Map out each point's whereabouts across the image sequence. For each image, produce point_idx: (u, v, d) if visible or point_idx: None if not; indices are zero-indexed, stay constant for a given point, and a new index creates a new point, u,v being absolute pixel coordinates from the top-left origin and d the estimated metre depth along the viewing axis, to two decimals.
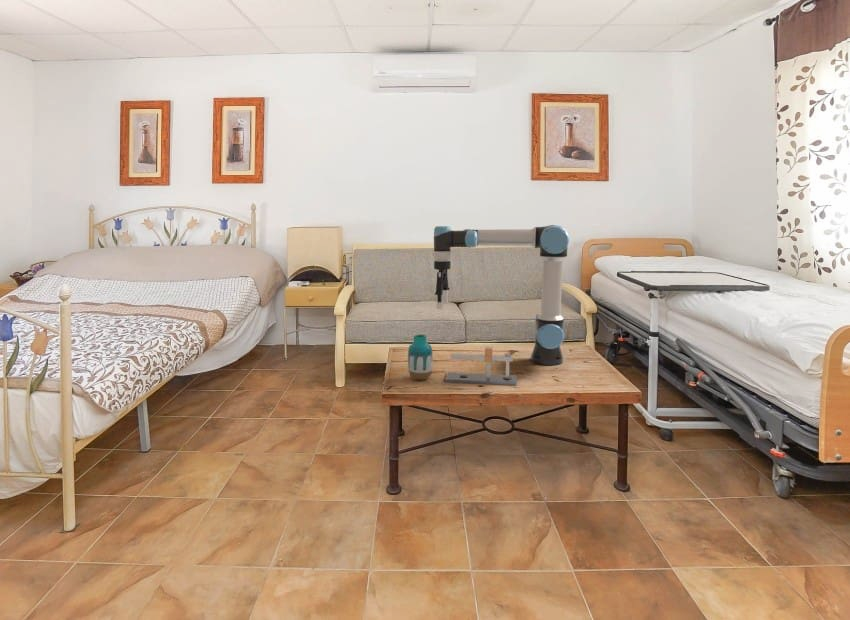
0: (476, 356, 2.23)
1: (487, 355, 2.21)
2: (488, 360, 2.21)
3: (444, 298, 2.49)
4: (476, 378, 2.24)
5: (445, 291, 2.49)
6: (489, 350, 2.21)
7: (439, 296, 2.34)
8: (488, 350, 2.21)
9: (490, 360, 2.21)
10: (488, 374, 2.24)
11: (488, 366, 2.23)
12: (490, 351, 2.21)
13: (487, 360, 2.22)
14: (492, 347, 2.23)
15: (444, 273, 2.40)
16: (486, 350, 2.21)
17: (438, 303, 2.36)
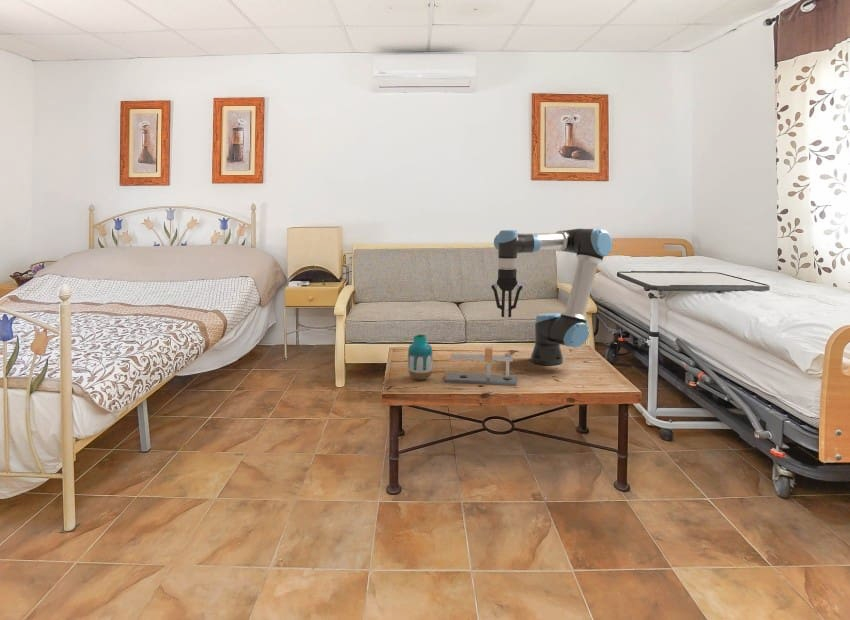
0: (476, 356, 2.23)
1: (487, 355, 2.21)
2: (488, 360, 2.21)
3: None
4: (476, 378, 2.24)
5: None
6: (489, 350, 2.21)
7: (501, 310, 2.18)
8: (488, 350, 2.21)
9: (490, 360, 2.21)
10: (488, 374, 2.24)
11: (488, 366, 2.23)
12: (490, 351, 2.21)
13: (487, 360, 2.22)
14: (492, 347, 2.23)
15: (503, 282, 2.15)
16: (486, 350, 2.21)
17: None
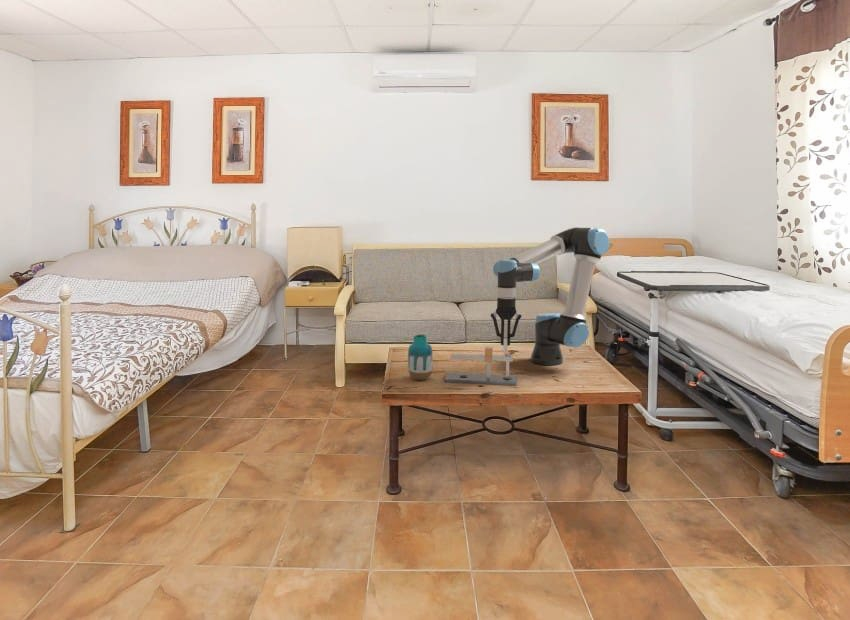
0: (476, 356, 2.23)
1: (487, 355, 2.21)
2: (488, 360, 2.21)
3: None
4: (476, 378, 2.24)
5: None
6: (489, 350, 2.21)
7: None
8: (488, 350, 2.21)
9: (490, 360, 2.21)
10: (488, 374, 2.24)
11: (488, 366, 2.23)
12: (490, 351, 2.21)
13: (487, 360, 2.22)
14: (492, 347, 2.23)
15: (502, 311, 2.17)
16: (486, 350, 2.21)
17: None
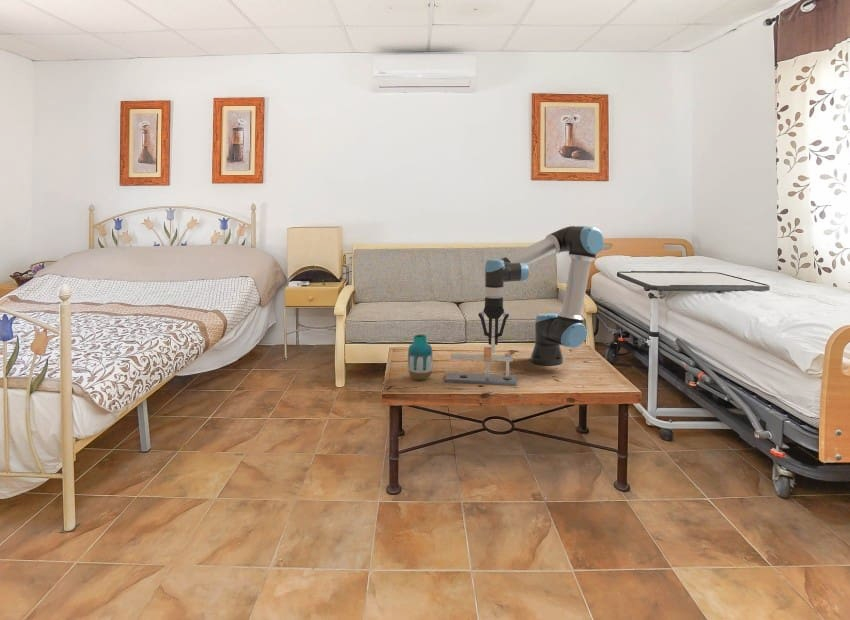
0: (476, 356, 2.23)
1: (486, 355, 2.21)
2: (487, 360, 2.22)
3: None
4: (476, 378, 2.24)
5: None
6: (488, 350, 2.21)
7: None
8: (487, 350, 2.21)
9: (489, 360, 2.21)
10: (487, 374, 2.24)
11: (487, 366, 2.23)
12: (489, 351, 2.21)
13: (486, 360, 2.22)
14: None
15: (489, 311, 2.18)
16: (485, 350, 2.21)
17: (491, 345, 2.22)
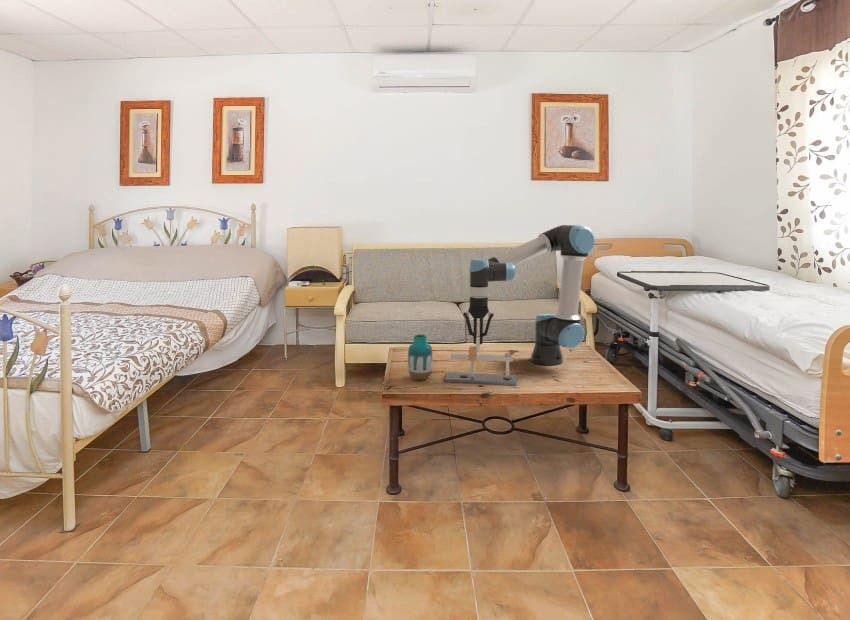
0: (476, 356, 2.23)
1: (471, 354, 2.22)
2: (472, 359, 2.23)
3: None
4: (476, 378, 2.24)
5: None
6: (473, 349, 2.22)
7: None
8: (472, 349, 2.22)
9: (474, 359, 2.22)
10: (472, 373, 2.25)
11: (472, 365, 2.24)
12: (474, 350, 2.22)
13: (471, 359, 2.23)
14: None
15: (474, 310, 2.19)
16: (470, 349, 2.22)
17: None
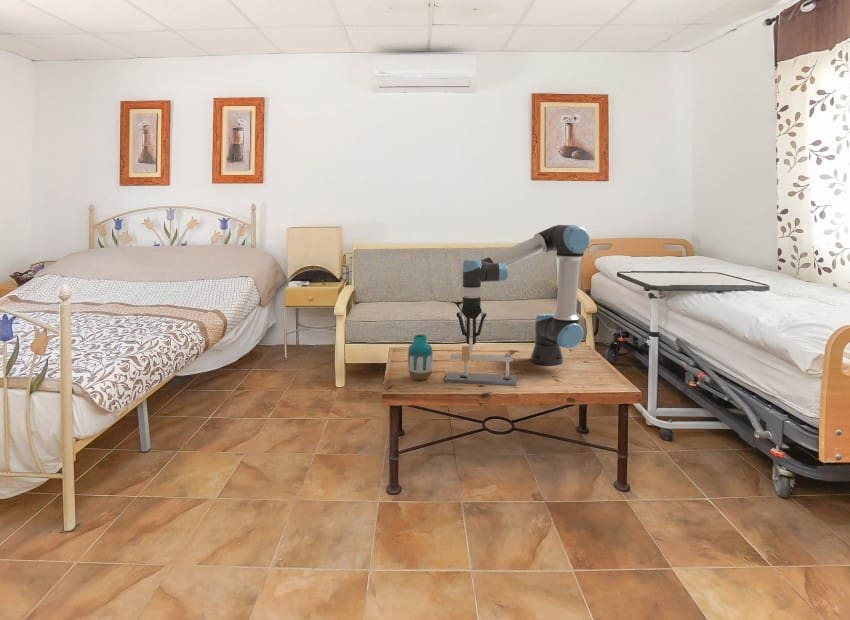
0: (476, 356, 2.23)
1: (464, 354, 2.23)
2: (465, 359, 2.23)
3: None
4: (476, 378, 2.24)
5: None
6: (466, 349, 2.22)
7: None
8: (465, 349, 2.22)
9: (467, 359, 2.23)
10: (465, 373, 2.25)
11: (465, 365, 2.25)
12: (467, 350, 2.22)
13: (464, 359, 2.23)
14: None
15: (467, 310, 2.20)
16: (463, 349, 2.23)
17: None
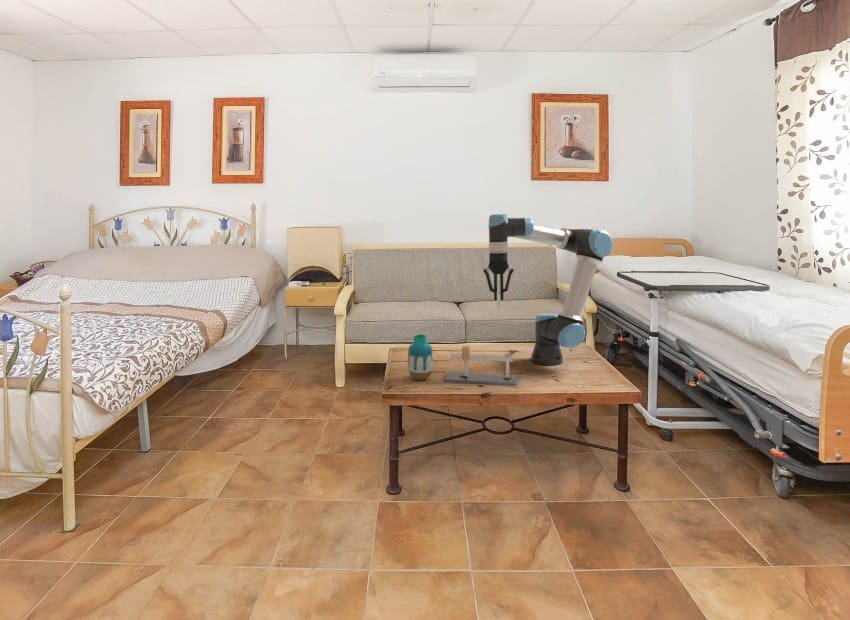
0: (476, 356, 2.23)
1: (464, 354, 2.23)
2: (465, 359, 2.23)
3: None
4: (476, 378, 2.24)
5: None
6: (466, 349, 2.22)
7: (494, 294, 2.22)
8: (465, 349, 2.22)
9: (467, 359, 2.23)
10: (465, 373, 2.25)
11: (465, 365, 2.25)
12: (467, 350, 2.22)
13: (464, 359, 2.23)
14: (469, 346, 2.25)
15: (494, 266, 2.19)
16: (463, 349, 2.23)
17: None
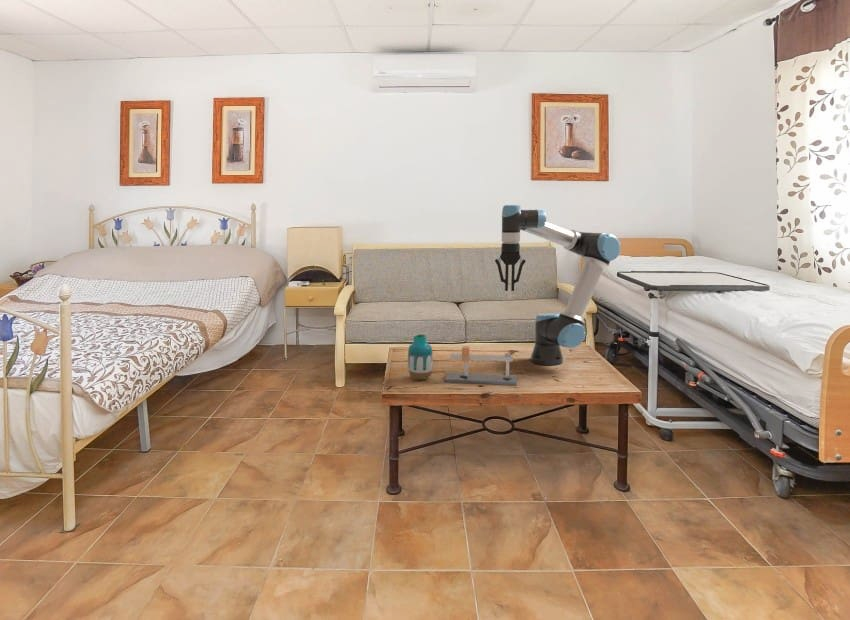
0: (476, 356, 2.23)
1: (464, 354, 2.23)
2: (465, 359, 2.23)
3: None
4: (476, 378, 2.24)
5: None
6: (466, 349, 2.22)
7: (505, 284, 2.23)
8: (465, 349, 2.22)
9: (467, 359, 2.23)
10: (465, 373, 2.25)
11: (465, 365, 2.25)
12: (467, 350, 2.22)
13: (464, 359, 2.23)
14: (469, 346, 2.25)
15: (506, 256, 2.20)
16: (463, 349, 2.23)
17: None
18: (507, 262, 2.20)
